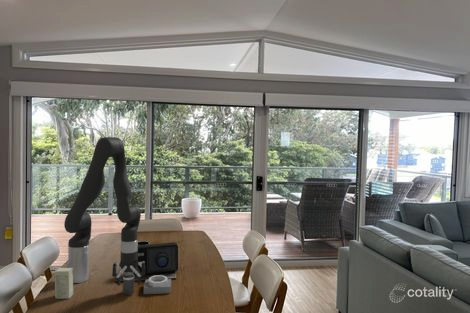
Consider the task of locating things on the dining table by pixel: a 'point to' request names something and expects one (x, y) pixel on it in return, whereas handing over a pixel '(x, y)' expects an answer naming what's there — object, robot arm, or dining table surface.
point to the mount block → (157, 285)
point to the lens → (128, 283)
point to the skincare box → (63, 283)
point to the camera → (158, 257)
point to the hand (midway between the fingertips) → (129, 284)
